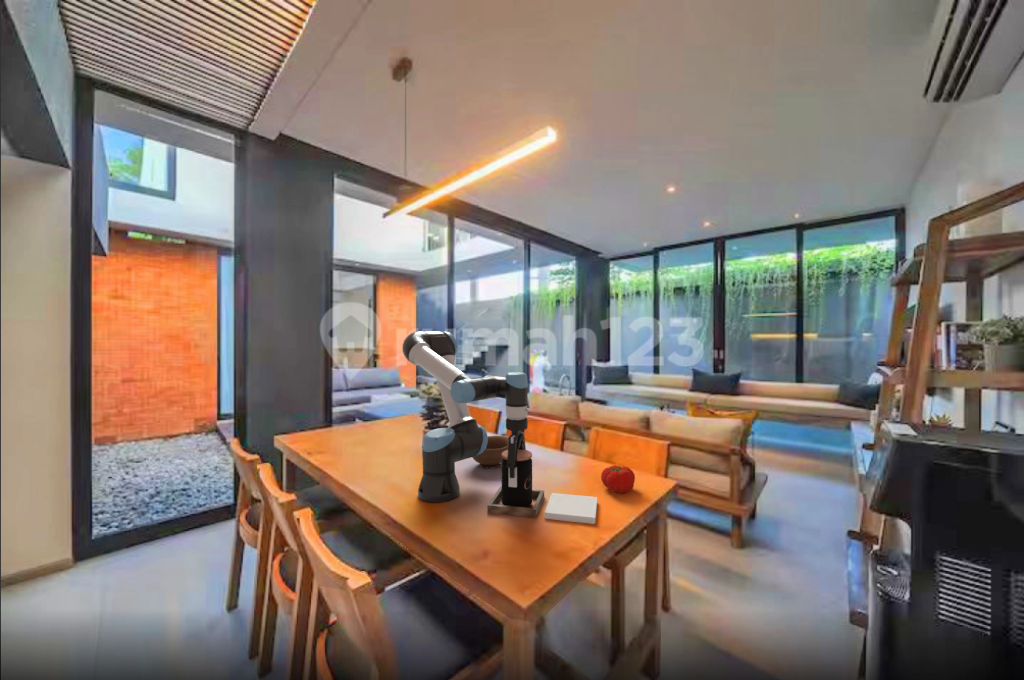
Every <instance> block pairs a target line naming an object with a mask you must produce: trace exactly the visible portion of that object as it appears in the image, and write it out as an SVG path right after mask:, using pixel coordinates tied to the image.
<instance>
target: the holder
mask: <svg viewBox="0 0 1024 680" xmlns="http://www.w3.org/2000/svg"><path fill="white" fill-rule="evenodd" d="M533 498H534V499H536V500H535V503H534V505H533V507H532V508H531V507H529V508H525V507H515V506H506V505H503V504H498V503H499V501H500V500H501V499H502V485H500V487H498V490H496V492H495V493H494V495H493V496H492V498H491V499H490V501H489V502H488V504H487V505H486V506H487V508H486V509H487V511H486V512H487V513H488V514H495V515H496V514H498V515H507V516H514V517H515V516H516V517H523V518H524V517H525V518H534V519H536V518H537V517H538V513H539V511H540V508H541V506H542V504H543V502H544V499H545V490H543V489H542V490H541V489H533V488H532V499H533Z"/></svg>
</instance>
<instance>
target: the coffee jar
mask: <svg viewBox="0 0 1024 680" xmlns="http://www.w3.org/2000/svg"><path fill="white" fill-rule="evenodd" d="M502 457H503V459H502V462H501V487H502V497H501V503H502V504H501V505H506V506H515V507H525V508H531V506H532V504H533V498H532V489H533V459H532V457H533V453H532V451H530V450H529V449H526V450H524V449H523V450H521V449H518V455H517V463H516V467H517V487H509V468H506V465H507V457H508V450H506V451H504V452H502Z"/></svg>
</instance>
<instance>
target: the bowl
mask: <svg viewBox="0 0 1024 680" xmlns="http://www.w3.org/2000/svg"><path fill="white" fill-rule="evenodd" d="M487 436H488V435H487ZM509 437H510V436H506V435H489V436H488V443H487V445H486V449H485V451H484V452H483V453H481V454H480V455H477V456H475V457H472V459H473V460H474V461H475V462H476V463H478V464H479V466H480V467H481V468H483V469H495V468H498V467H500V465H501V464H502V459H503V457H502V452H504V451H506V450H508V445H509V439H508V438H509Z"/></svg>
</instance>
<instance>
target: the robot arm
mask: <svg viewBox="0 0 1024 680" xmlns="http://www.w3.org/2000/svg"><path fill="white" fill-rule="evenodd" d="M457 348H458V342H457V340H456V337H455V336H454V335H453V333H451V332H449V331H445V330H444V331H443V330H434V331H432V330H430V331H429V330H428V331H421V330H420V331H418V330H417V331H414V332H412V333H410V334H408V335H407V336H406V337H405V339H404V340H403V343H402V353H403V355H404V357H405V359H406V360H407V361H408V362H410V364H412V365H415V366H418V367H420V368H421V369H423V370H424V371H426V372H427V373H428V374H429V375H431V376H432V377H433V378H435V379H436V382H437V385H438V389H439V391H440V395H441V398H442V401H443V405H444V408H445V411H446V412H445V413H446V415H447V417H448V420H449V421H448V422H449V424H448V427H440V428H439V427H438V428H434V429H431V430H429V431H427V432H426V433H425V434H424V435H423V437H422V445H421V449H422V477H421V480H420V483H419V485H418V489H417V497H418V499H420V500H421V501H423V502H426V503H427V502H428V503H444V502H449V501H451V500H455V499H457V498H458V497H459V496H460V493H461V491H460V489H461V488H460V487H461V486H460V484H459V481H458V478H457V475H456V472H455V471H456V466H455V465H456V464H455V463H457V462H460V461H463V460H467V459H470V458H473V457H475V456H477V455H480V454H481V453H483V452H484V451H485V449H486V445H487V443H488V432H487V430H486V428H485V427H483V425H481V424H478V422H477V419H476V418H475V417H473V416H472V415H471V413H470V410H469V407H468V403H473V402H476V401H477V402H478V401H482V400H488V399H495V398H499V399H503V400H505V417H506V418H505V429H506V430H507V431H511V433H510V436H508V437H509V438H508V439H509V445H508V457H507V465H506V468H509V487H517V467H516V463H517V455H518V449H521V450H523V449H524V450H527V448H526V438H525V431H526V430H527V429H528V428H529V427H528V425H529V424H528V421H529V419H528V418H527V417H528V412H529V411H530V408H529V407H528V389H529V388H528V387H529V384H528V383H529V382H528V375H527V374H526V373H525V372H522V371H521V372H517V371H510V372H506V374H505V377H504V376H497V375H494V374H493V375H489V374H488V375H485V376H483V377H479V378H471V377H470V376H469V375H468V374H466V373H464V372H463V371H462V370H460V369H459V368H457V367H456V366H455V363H454V362H455V359H456V355H457V352H458V349H457Z"/></svg>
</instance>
